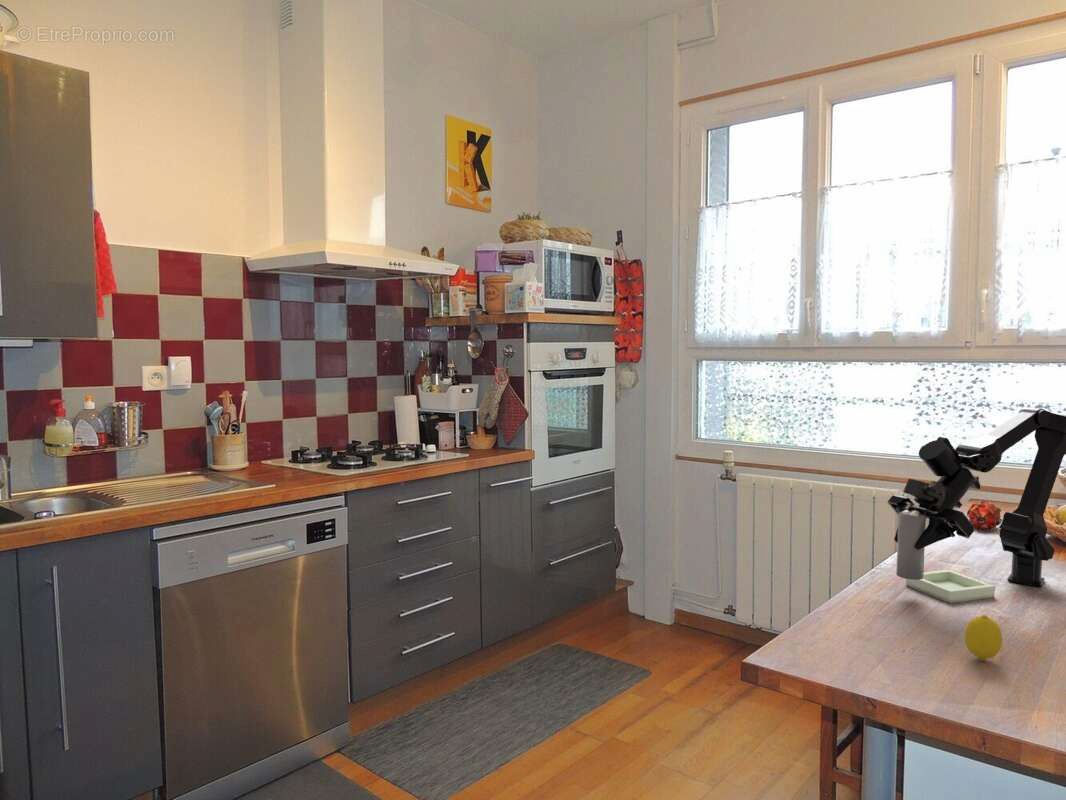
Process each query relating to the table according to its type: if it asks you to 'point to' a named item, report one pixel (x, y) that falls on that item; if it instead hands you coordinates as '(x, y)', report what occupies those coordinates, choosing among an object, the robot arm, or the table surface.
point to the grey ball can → (910, 545)
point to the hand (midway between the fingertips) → (905, 544)
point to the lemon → (983, 637)
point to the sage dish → (952, 586)
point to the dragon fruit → (984, 515)
